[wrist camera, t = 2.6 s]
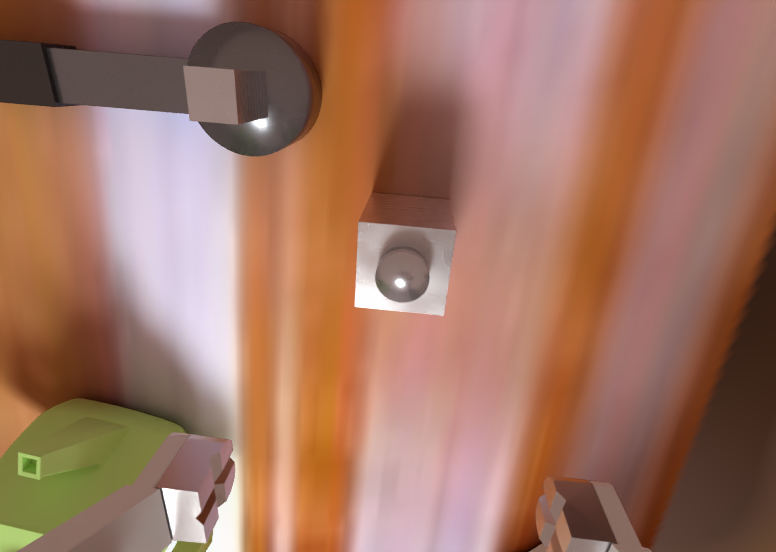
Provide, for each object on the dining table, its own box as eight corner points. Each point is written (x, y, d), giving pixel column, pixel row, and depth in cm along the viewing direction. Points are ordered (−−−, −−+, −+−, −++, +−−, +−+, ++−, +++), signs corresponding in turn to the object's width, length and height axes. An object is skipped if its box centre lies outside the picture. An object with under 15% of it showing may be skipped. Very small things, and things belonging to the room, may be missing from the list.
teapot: (13, 324, 34) (-204, 454, 22) (254, 390, 35) (169, 547, 23) (33, 475, 42) (-120, 630, 30) (230, 525, 43) (156, 694, 31)
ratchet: (321, 33, 24) (281, 15, 17) (321, 151, 26) (286, 176, 20) (-32, 7, 24) (-208, -22, 18) (3, 123, 27) (-137, 138, 20)
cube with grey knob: (449, 199, 27) (457, 237, 20) (439, 270, 29) (444, 325, 23) (372, 192, 27) (355, 227, 21) (368, 263, 29) (352, 315, 23)
